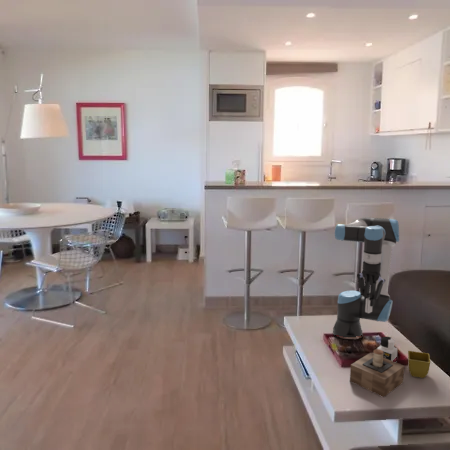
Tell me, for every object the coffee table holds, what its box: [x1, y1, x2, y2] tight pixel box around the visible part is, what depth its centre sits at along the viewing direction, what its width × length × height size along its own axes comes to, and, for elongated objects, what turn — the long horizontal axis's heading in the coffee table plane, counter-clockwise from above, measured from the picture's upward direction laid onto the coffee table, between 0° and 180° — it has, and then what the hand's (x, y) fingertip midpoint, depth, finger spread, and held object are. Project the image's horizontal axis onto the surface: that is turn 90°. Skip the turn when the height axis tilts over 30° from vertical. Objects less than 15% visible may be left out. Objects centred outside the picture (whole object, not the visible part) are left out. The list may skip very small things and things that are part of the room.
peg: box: [372, 348, 383, 369], centre depth 195 cm, size 4×4×8 cm
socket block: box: [349, 352, 405, 398], centre depth 196 cm, size 16×16×8 cm
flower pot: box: [407, 350, 431, 379], centre depth 202 cm, size 9×9×9 cm
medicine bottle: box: [376, 336, 399, 361], centre depth 212 cm, size 7×7×12 cm
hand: (368, 311), depth 205 cm, fingers closed
